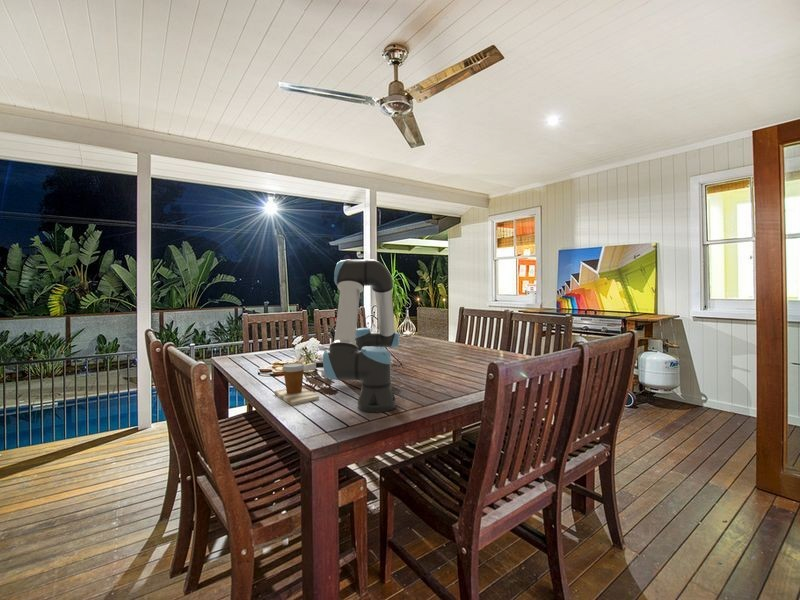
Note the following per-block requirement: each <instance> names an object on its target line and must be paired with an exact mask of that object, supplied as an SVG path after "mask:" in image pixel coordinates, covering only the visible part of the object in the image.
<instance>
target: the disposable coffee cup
mask: <svg viewBox="0 0 800 600" xmlns="http://www.w3.org/2000/svg"><path fill="white" fill-rule="evenodd" d="M304 365H305V364H304V363H303V362H287V363H284V364H283V365H282V369H281V370H282V371H283V376H284V384H285V389H286V391H287V393H289V394H296V393H300V392H301V391H302V387H303V380H304V372H305V371H304V368H305V366H304Z"/></svg>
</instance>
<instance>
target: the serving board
mask: <svg viewBox="0 0 800 600" xmlns="http://www.w3.org/2000/svg"><path fill="white" fill-rule="evenodd" d="M274 395H275V396H276V395H277V397H278V398H280V400H283V401H284V402H285V403H287V404H289V405H290V406H295V405H300V404H305V403H309V401H310V402H313V400H314V401H318V400H317V399H319V400H320V395H318V394H317V393H314V392H312V391H310V390H309V389H306V388H305V387H303V386H302V391H301V392H300V393H296V394H289V393H287V391H286V388H284V389H278V390H274Z"/></svg>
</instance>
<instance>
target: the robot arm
mask: <svg viewBox="0 0 800 600" xmlns="http://www.w3.org/2000/svg"><path fill="white" fill-rule="evenodd" d="M333 273H334V274H333V275H334V277H333V282H334V283H335V285H336V287H337V289H338V291H339V296H338V297H339V299H338V307H337V313H336V323H335V331H334V332H335V333H334V339H333V342H330V344H329V349H326V350H324V351H323V354H322V355H323V356H322V360H318V361H312V362H311V363H308V364H304V366H305V368H304V372H307V371H311V370H317V369H319V368H320V372H321V375H320V376H321V377H325V376H326V378H327V379H329V380H334V381H335V380H336V381H361V389H360V391H359V392H360V393H359V395H358V399H357V408H358V409H359V410H360V411H362V412H367V413H384V412H388V411H392V410H393V409H395V408H396V406H397V405H396V397H395V394H394V392H393V388H392V360H391V359H392V357H391V352H390V351H389V350H388V349H386V348H398V347H399V346H400V333H399V332H397V331H395V319H394V318H395V317H394V307H393V297H392V295H393V294H392V291H393V289H394V281H393V278H392V275H391V273H390V271H389V269H388V268H387V267H386V266H385V265H384V264H383V263H382V262H380V261H378V260H376V259H373V258H372V259H350V258H349V259H342V260H340V261H338V262H337V263H336V266H335V269H334V272H333ZM366 286H369V287H371V290H373V292H374V296H375V297H374V298H375V304H376V314H377V321H378V322H377V323H378V331H377V332H376V331H371V328H369V327H359V328H358V326H357V325H358V315H359V306H360V305H359V304H360V294H361V293H362V292H363V291H364V290H365V289H364V288H365V287H366ZM321 368H323V369H321Z"/></svg>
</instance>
